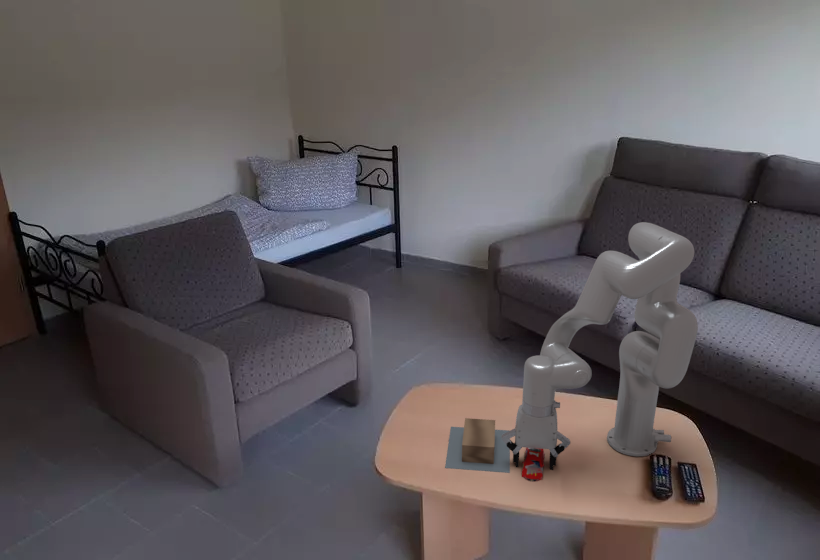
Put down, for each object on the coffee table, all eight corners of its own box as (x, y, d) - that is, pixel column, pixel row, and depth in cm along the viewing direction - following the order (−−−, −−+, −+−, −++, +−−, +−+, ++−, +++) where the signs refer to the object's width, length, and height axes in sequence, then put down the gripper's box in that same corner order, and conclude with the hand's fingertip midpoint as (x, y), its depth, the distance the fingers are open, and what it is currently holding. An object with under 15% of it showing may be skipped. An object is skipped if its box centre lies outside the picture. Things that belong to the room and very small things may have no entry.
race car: (542, 488, 162) (543, 475, 160) (519, 484, 163) (520, 471, 161) (546, 455, 173) (547, 442, 172) (525, 452, 175) (525, 439, 173)
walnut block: (494, 435, 179) (495, 420, 177) (493, 464, 168) (494, 447, 166) (464, 433, 180) (465, 418, 178) (461, 461, 169) (462, 445, 167)
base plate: (509, 434, 182) (509, 430, 181) (509, 476, 165) (509, 472, 165) (450, 430, 184) (450, 426, 183) (444, 471, 167) (444, 467, 167)
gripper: (573, 399, 163) (568, 459, 170) (501, 395, 166) (499, 454, 172) (576, 416, 157) (570, 478, 163) (501, 411, 159) (498, 472, 165)
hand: (533, 465), depth 168 cm, fingers open, 7 cm apart
